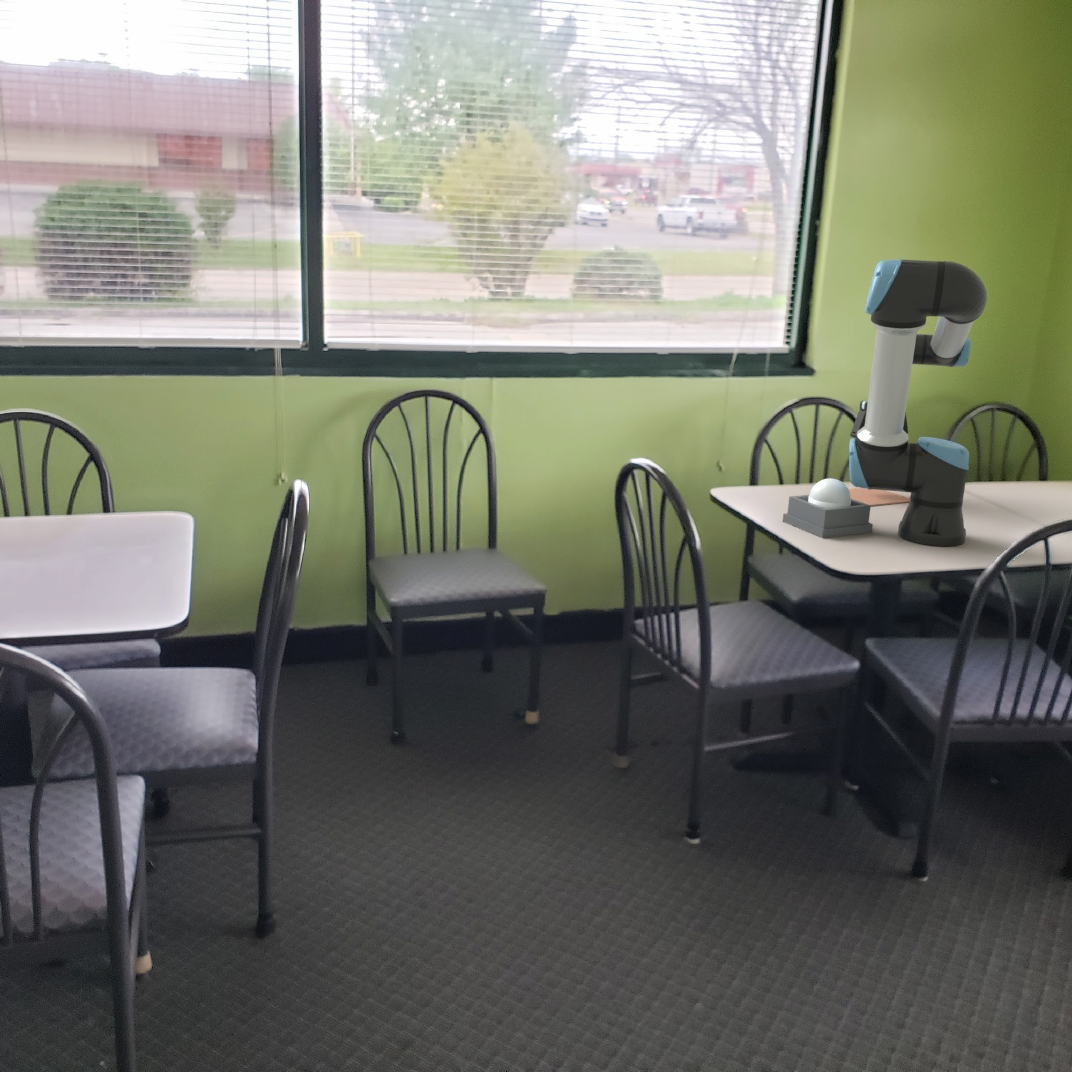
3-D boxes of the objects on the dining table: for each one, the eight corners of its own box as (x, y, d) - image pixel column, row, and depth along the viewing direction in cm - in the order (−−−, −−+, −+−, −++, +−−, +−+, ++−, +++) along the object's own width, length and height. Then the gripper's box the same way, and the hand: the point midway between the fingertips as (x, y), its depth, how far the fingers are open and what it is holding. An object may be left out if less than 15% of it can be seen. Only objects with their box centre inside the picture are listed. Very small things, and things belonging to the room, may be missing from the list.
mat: (915, 501, 277) (915, 500, 277) (869, 506, 271) (869, 505, 271) (874, 487, 291) (874, 486, 291) (829, 492, 285) (829, 490, 285)
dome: (857, 520, 248) (862, 482, 245) (824, 524, 244) (829, 485, 241) (830, 510, 256) (834, 472, 254) (798, 513, 252) (802, 475, 250)
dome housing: (871, 531, 247) (874, 506, 245) (822, 537, 241) (825, 511, 239) (830, 516, 260) (833, 491, 258) (782, 521, 254) (785, 496, 252)
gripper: (909, 377, 280) (898, 456, 286) (842, 380, 271) (833, 461, 277) (929, 381, 273) (918, 461, 280) (861, 384, 264) (851, 467, 270)
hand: (875, 461), depth 278 cm, fingers closed on plastic cup, 11 cm apart
